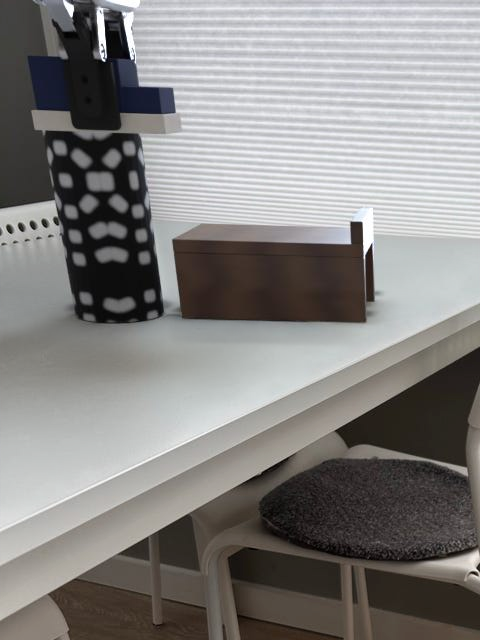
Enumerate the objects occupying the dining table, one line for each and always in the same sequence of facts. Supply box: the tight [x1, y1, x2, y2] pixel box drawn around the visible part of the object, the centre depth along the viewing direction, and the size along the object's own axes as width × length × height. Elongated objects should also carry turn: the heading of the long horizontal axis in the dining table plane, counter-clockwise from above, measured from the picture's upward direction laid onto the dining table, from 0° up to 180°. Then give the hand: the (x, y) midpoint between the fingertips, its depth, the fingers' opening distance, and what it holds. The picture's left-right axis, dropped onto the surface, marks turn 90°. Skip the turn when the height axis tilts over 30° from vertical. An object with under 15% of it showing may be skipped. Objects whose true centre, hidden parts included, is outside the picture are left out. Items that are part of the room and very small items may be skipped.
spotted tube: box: [41, 130, 165, 324], centre depth 88 cm, size 8×8×20 cm
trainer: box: [26, 55, 183, 135], centre depth 66 cm, size 9×4×4 cm, turn 91°
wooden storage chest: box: [171, 206, 376, 324], centre depth 96 cm, size 18×12×9 cm, turn 91°
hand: (109, 125), depth 67 cm, fingers closed on trainer, 4 cm apart
